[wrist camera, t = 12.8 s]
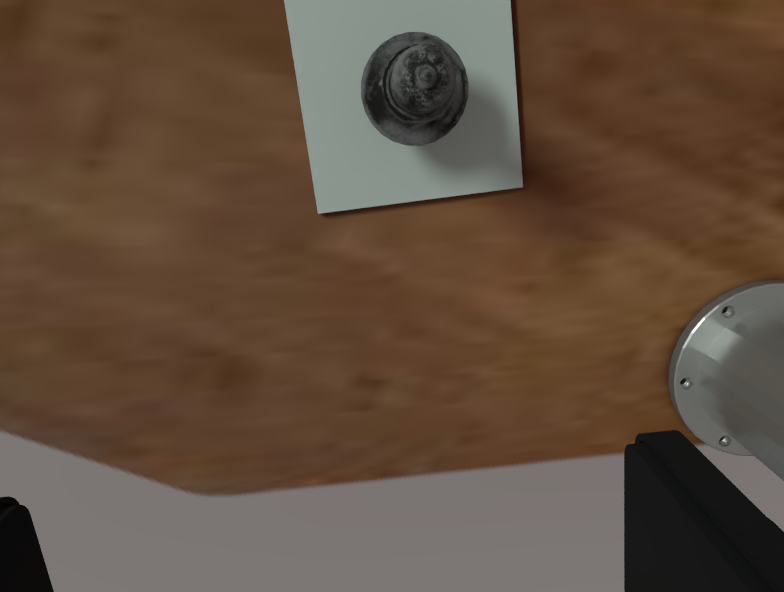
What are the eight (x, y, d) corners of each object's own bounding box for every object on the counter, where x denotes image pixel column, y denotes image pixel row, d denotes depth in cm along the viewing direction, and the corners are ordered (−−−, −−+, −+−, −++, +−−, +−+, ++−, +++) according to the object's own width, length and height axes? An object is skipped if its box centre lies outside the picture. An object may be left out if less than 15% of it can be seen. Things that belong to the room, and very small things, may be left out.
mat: (505, -40, 34) (507, -42, 34) (521, 186, 37) (523, 187, 37) (283, -10, 34) (282, -12, 34) (318, 212, 38) (318, 213, 37)
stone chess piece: (480, 85, 35) (529, 60, 24) (419, 164, 36) (438, 177, 25) (402, 19, 34) (415, -40, 23) (342, 103, 35) (325, 87, 24)
